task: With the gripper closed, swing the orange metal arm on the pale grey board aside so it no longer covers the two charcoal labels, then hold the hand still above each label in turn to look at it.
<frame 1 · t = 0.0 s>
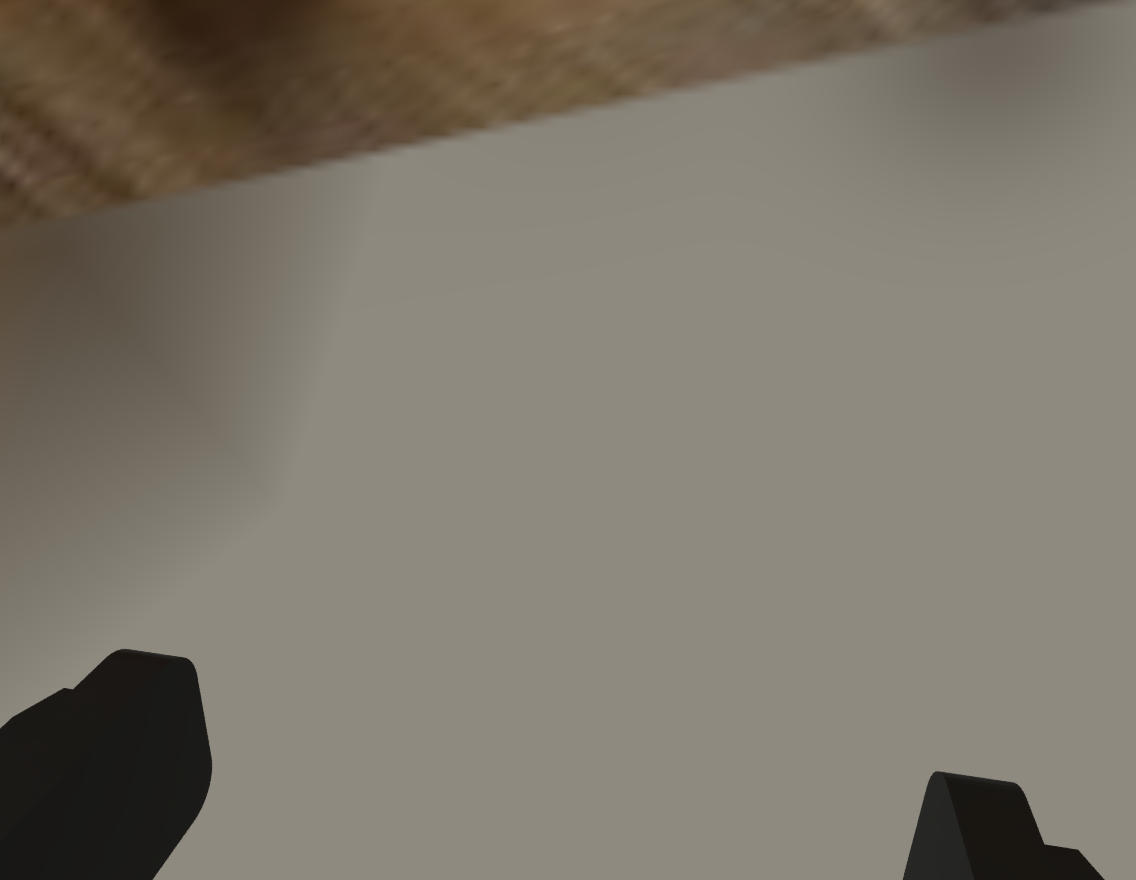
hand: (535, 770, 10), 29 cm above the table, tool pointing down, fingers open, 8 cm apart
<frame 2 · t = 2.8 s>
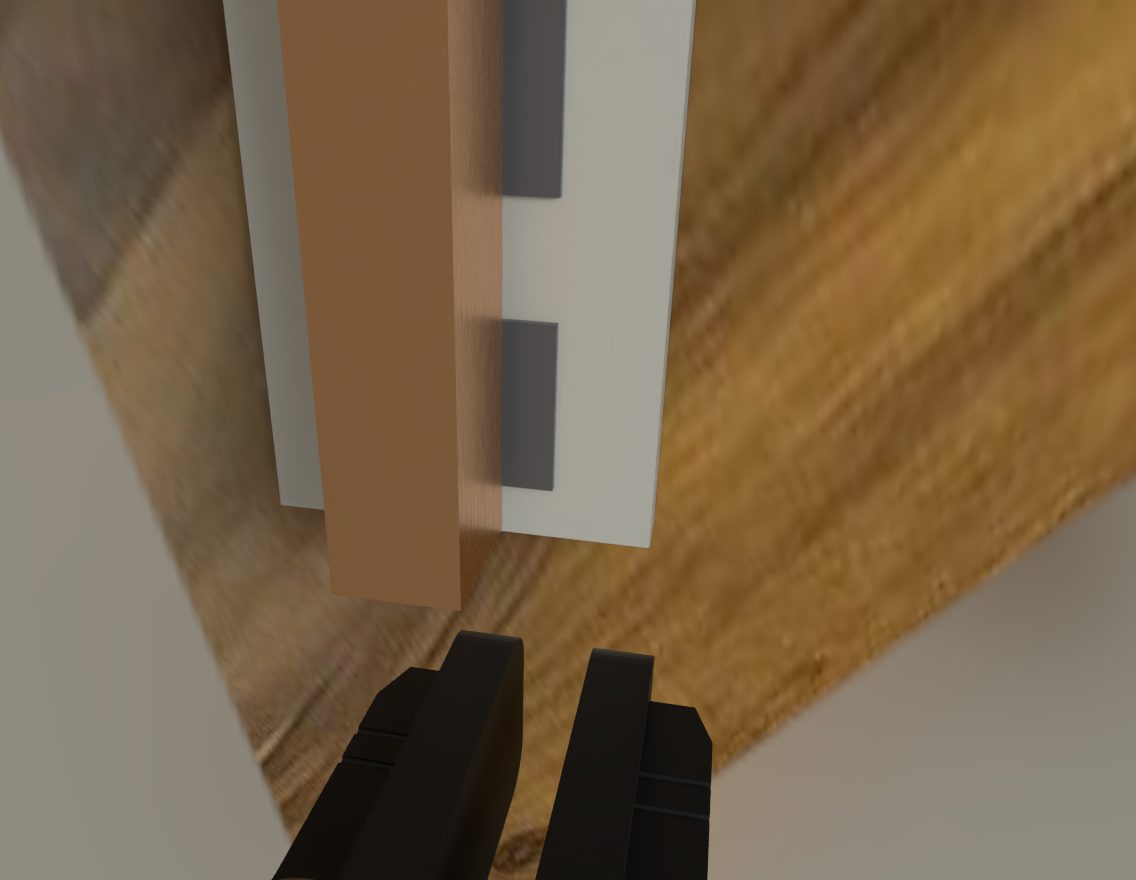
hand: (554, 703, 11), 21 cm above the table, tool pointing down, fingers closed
label board: (468, 117, 28), on the table
swing arm: (404, 128, 23), point 6 cm above the table, hinge at 0.0°
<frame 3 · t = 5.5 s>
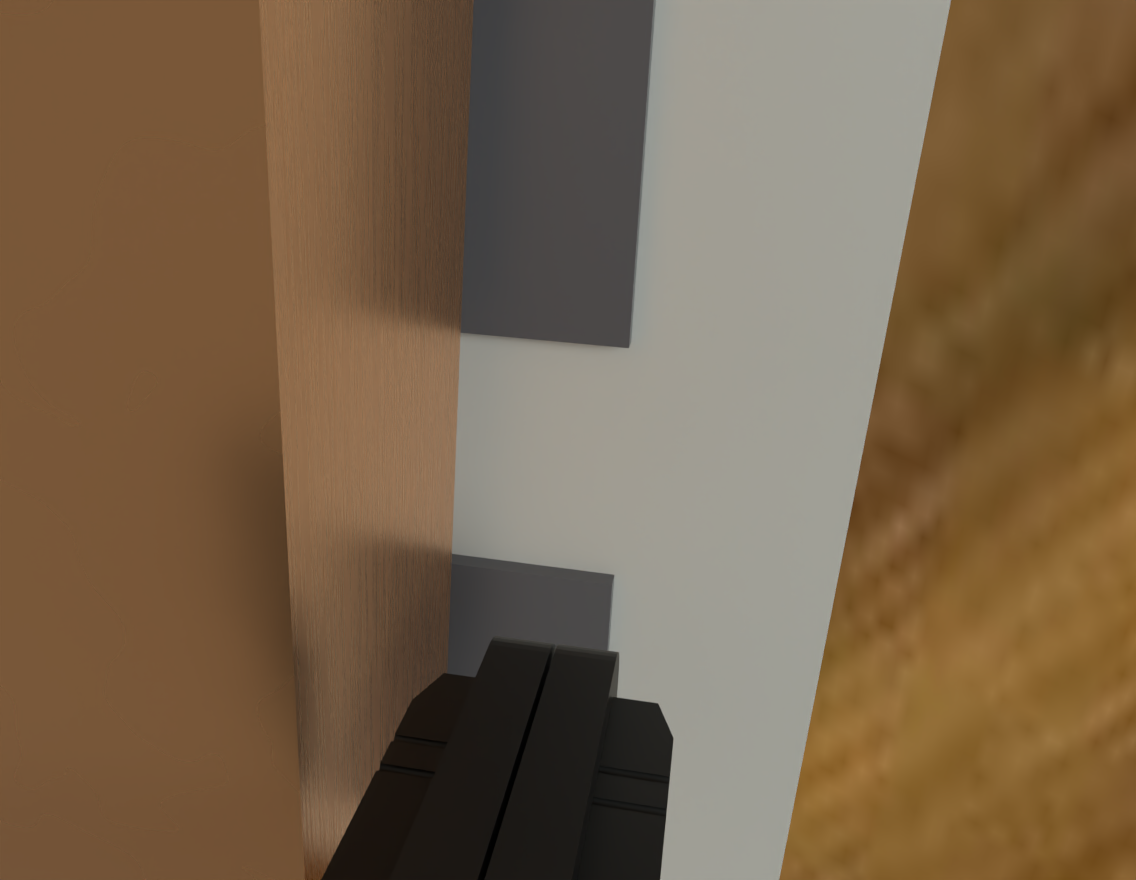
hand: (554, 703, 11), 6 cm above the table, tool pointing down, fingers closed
label board: (438, 167, 14), on the table
swing arm: (206, 224, 9), point 6 cm above the table, hinge at 2.9°, touching gripper
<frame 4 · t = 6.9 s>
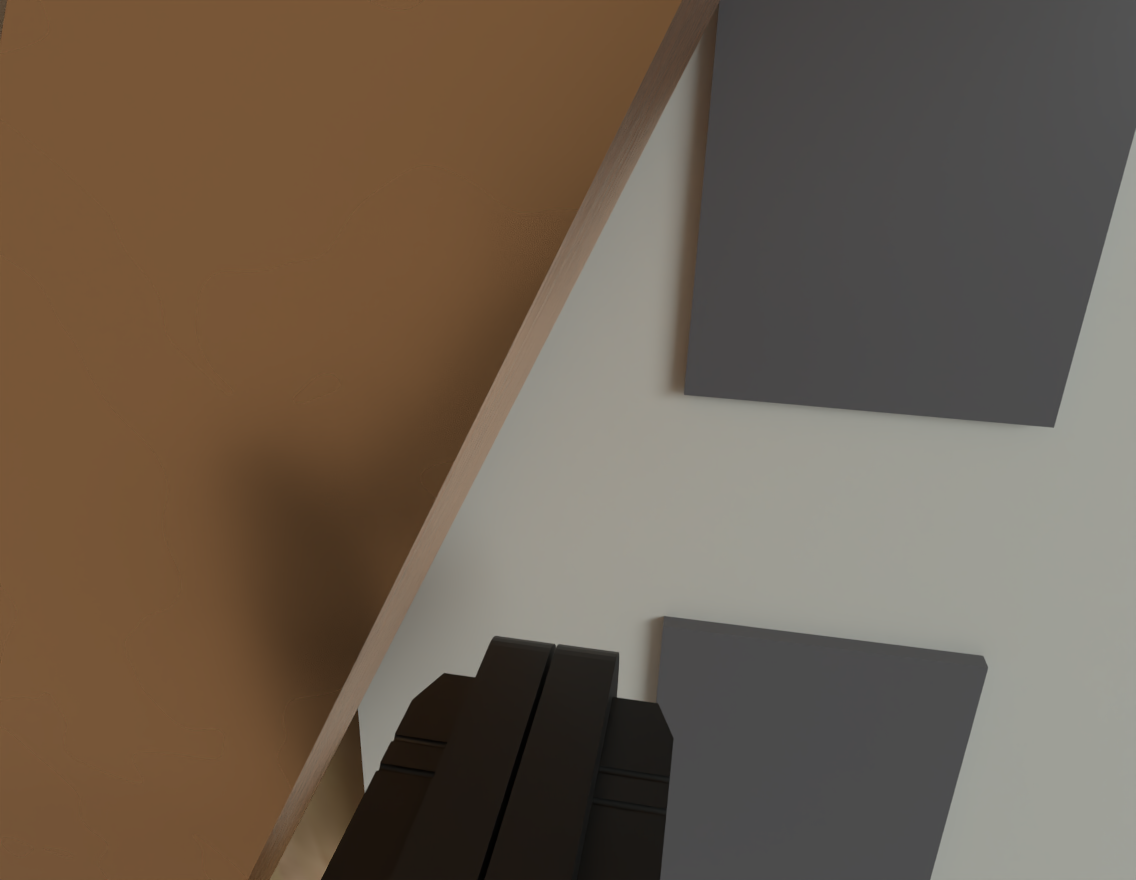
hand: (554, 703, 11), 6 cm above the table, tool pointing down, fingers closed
label board: (798, 232, 14), on the table
swing arm: (374, 197, 8), point 6 cm above the table, hinge at 24.7°, touching gripper
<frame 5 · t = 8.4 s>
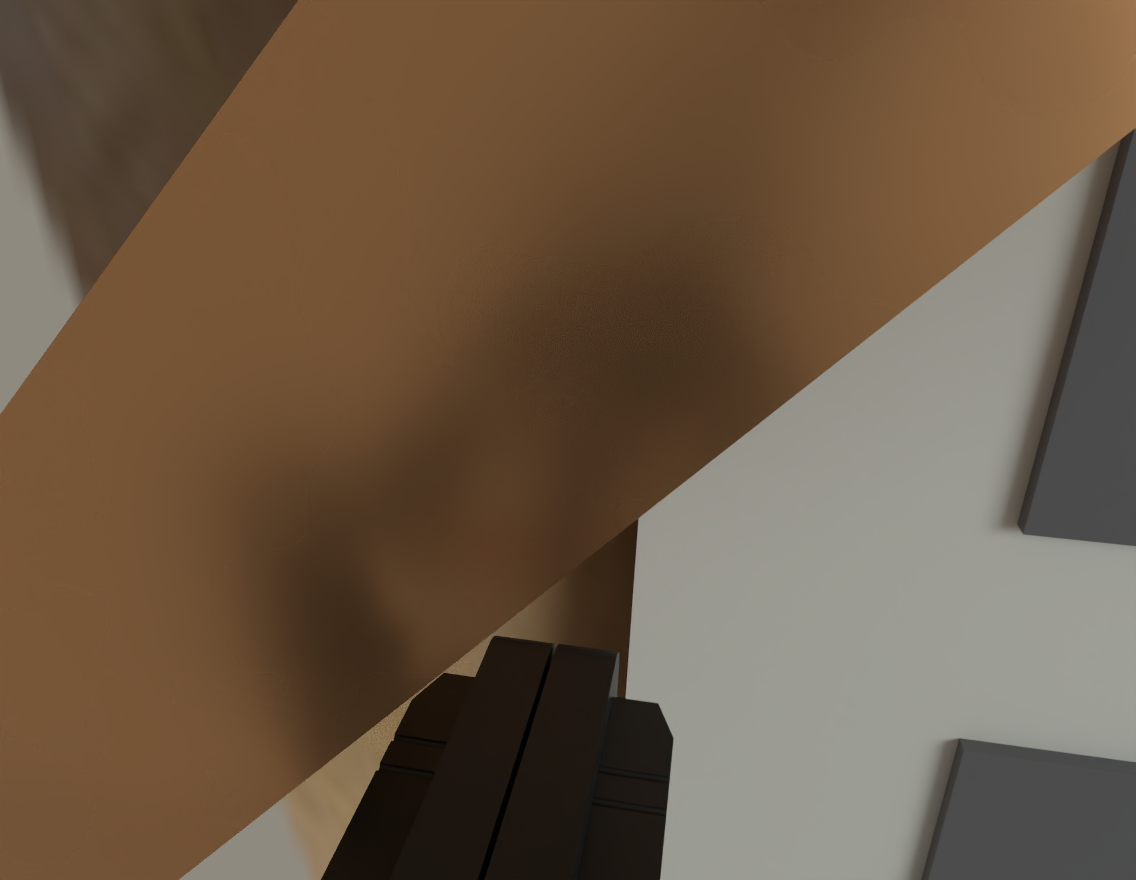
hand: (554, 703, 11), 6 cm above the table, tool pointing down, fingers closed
label board: (1112, 359, 14), on the table
swing arm: (589, 180, 8), point 6 cm above the table, hinge at 42.9°, touching gripper
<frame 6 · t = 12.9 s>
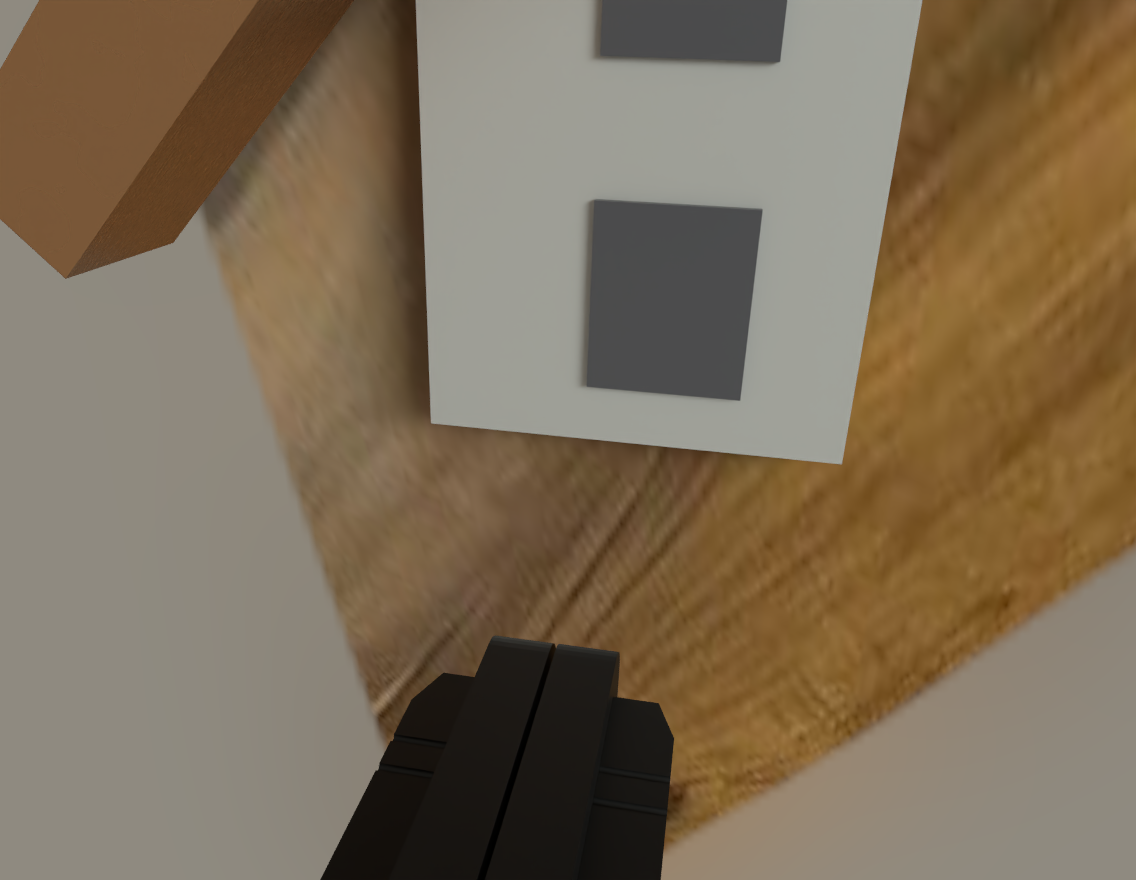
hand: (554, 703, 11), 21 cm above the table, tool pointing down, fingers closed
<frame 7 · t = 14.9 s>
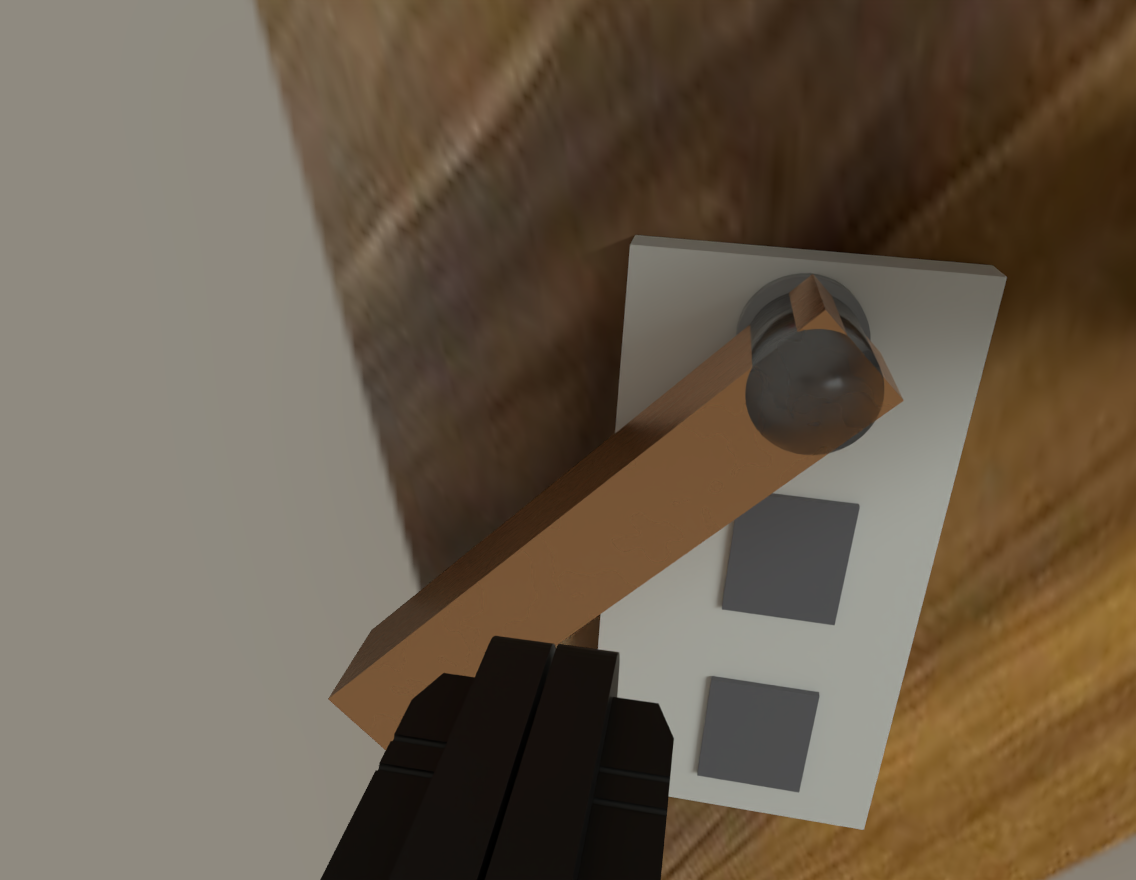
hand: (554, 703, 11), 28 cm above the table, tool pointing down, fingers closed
label board: (760, 550, 41), on the table
swing arm: (586, 536, 35), point 6 cm above the table, hinge at 43.0°
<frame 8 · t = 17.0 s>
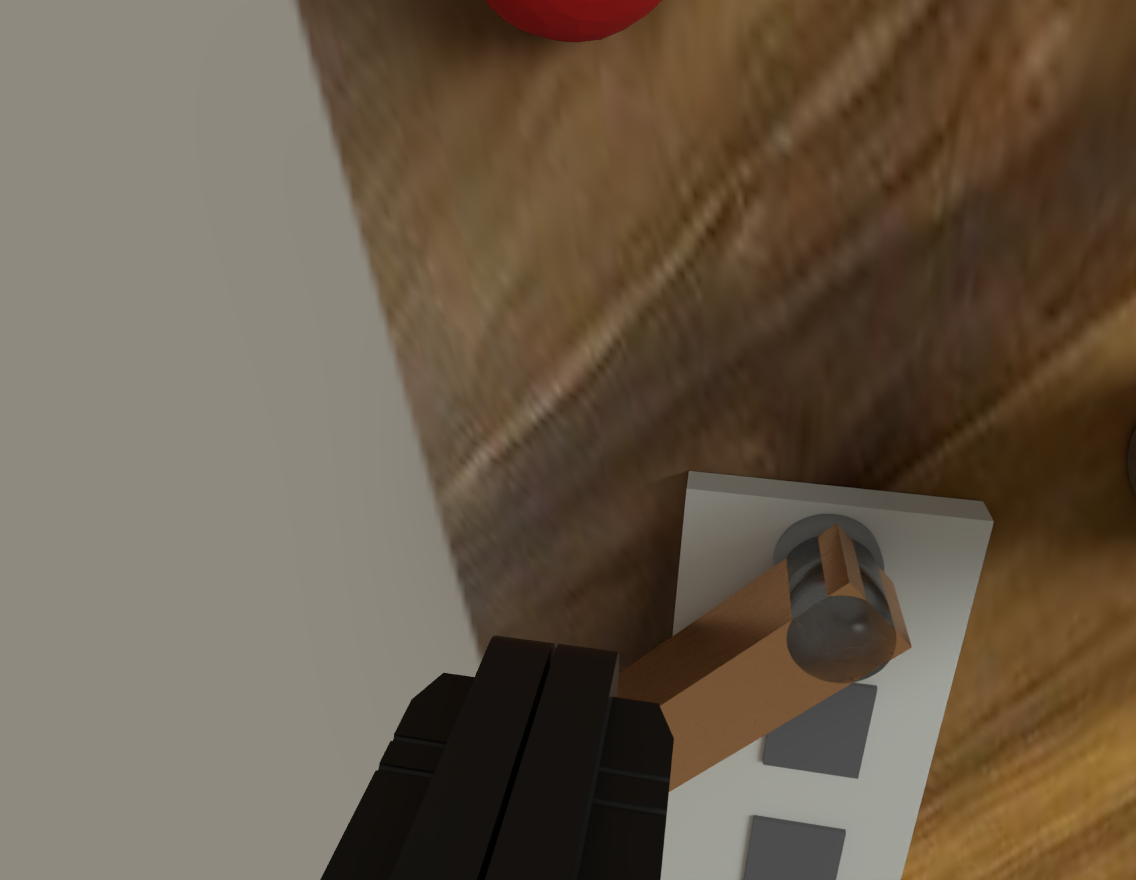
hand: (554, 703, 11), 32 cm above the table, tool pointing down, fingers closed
label board: (793, 710, 49), on the table
swing arm: (654, 722, 43), point 6 cm above the table, hinge at 43.0°
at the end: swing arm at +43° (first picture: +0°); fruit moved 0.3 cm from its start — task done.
